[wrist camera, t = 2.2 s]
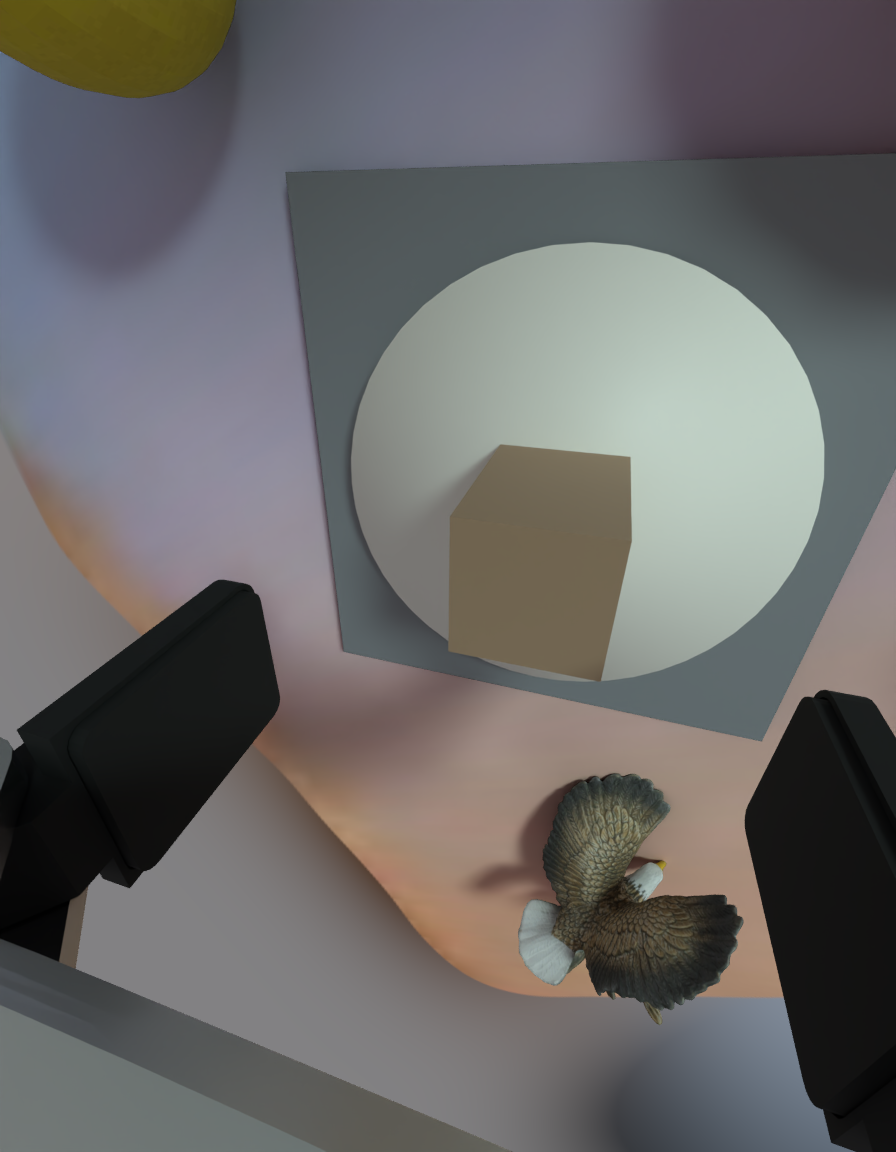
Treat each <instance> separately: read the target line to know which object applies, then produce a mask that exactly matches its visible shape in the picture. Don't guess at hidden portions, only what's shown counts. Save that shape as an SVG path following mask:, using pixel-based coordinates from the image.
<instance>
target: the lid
mask: <svg viewBox="0 0 896 1152" xmlns="http://www.w3.org/2000/svg"><path fill="white" fill-rule="evenodd" d="M351 473H352V488H353V494H354V501H355V507H356V511H357V515H358V518H359V522H360V525H361V529H362V532H363V535H364V537H365V539H366V542H367V544H368V547H369V549H370V551H371V554H372V556H373V557H374V559H375V561H376V563H377V565H378V566H379V568H380V570H381V572H382V574H383V575H384V577H385V578H386V579H387V581H388V582H389V584H390V585H391V586H392V588H393V589H394V591H395V592H396V594H397V595H398V596H399V597H400V598H401V599H402V600H403V601H404V603H405V604H406V605H407V606H408V607H409V608H410V609H411V610H412V611H413V612H414V613H415V614H416V615H417V616H418V617H419V618H420V619H421V620H422V621H423V622H425V623H426V624H427V625H428V626H429V627H430V628H432V629H433V630H434V631H436V632H437V633H438V634H440V635H441V636H442V637H444V638H445V639H446V640H448V641H449V643H448V651H449V652H454V653H459V654H464V655H469V656H474V657H478V658H480V659H482V660H484V661H487V662H489V663H491V664H494V665H497V666H500V667H502V668H505V669H508V670H511V671H515V672H518V673H522V674H526V675H530V676H534V677H540V678H547V679H553V680H562V681H580V682H588V681H598V682H601V681H609V680H616V679H623V678H630V677H636V676H640V675H644V674H648V673H652V672H656V671H660V670H663V669H665V668H668V667H671V666H674V665H676V664H679V663H682V662H685V661H687V660H689V659H691V658H693V657H695V656H697V655H699V654H701V653H703V652H705V651H707V650H709V649H711V648H712V647H714V646H715V645H717V644H719V643H720V642H722V641H723V640H725V639H726V638H728V637H729V636H731V635H732V634H734V633H735V632H736V631H738V630H739V629H740V628H741V627H742V626H744V625H745V624H746V623H747V622H748V621H750V620H751V619H752V618H753V617H754V616H756V615H757V613H758V612H759V611H760V610H761V609H762V608H763V607H764V606H765V605H766V604H767V603H768V602H769V601H770V600H771V598H772V597H773V596H774V595H775V594H776V593H777V592H778V590H779V589H780V587H781V586H782V585H783V583H784V582H785V580H786V579H787V577H788V576H789V575H790V573H791V572H792V570H793V569H794V567H795V565H796V563H797V561H798V560H799V558H800V556H801V554H802V552H803V550H804V548H805V546H806V544H807V542H808V540H809V537H810V534H811V531H812V528H813V525H814V522H815V519H816V516H817V513H818V510H819V504H820V499H821V493H822V487H823V481H824V439H823V433H822V427H821V420H820V414H819V409H818V406H817V403H816V400H815V398H814V395H813V392H812V389H811V386H810V383H809V380H808V377H807V375H806V373H805V371H804V370H803V368H802V366H801V364H800V362H799V361H798V359H797V357H796V355H795V353H794V351H793V350H792V348H791V346H790V344H789V343H788V342H787V341H786V339H785V338H784V337H783V336H782V334H781V333H780V332H779V331H778V329H777V328H776V327H775V326H774V324H773V323H772V322H771V321H770V319H769V318H768V317H767V316H766V315H765V314H764V313H763V312H762V311H761V310H760V309H759V308H757V307H756V306H755V305H754V304H753V303H752V302H751V301H749V300H748V299H747V298H746V297H745V296H744V295H743V294H742V293H740V292H739V291H738V290H737V289H735V288H734V287H732V286H730V285H729V284H727V283H726V282H724V281H722V280H721V279H719V278H718V277H716V276H714V275H713V274H711V273H709V272H708V271H706V270H705V269H702V268H700V267H698V266H695V265H693V264H690V263H688V262H685V261H683V260H681V259H678V258H676V257H673V256H671V255H669V254H665V253H661V252H656V251H652V250H648V249H644V248H639V247H635V246H631V245H621V244H608V243H595V242H586V243H573V244H560V245H550V246H546V247H541V248H537V249H533V250H528V251H524V252H520V253H515V254H513V255H510V256H508V257H505V258H502V259H500V260H497V261H495V262H492V263H490V264H487V265H485V266H482V267H480V268H478V269H476V270H475V271H473V272H471V273H469V274H468V275H466V276H464V277H462V278H461V279H459V280H457V281H455V282H454V283H452V284H450V285H449V286H448V287H446V288H445V289H444V290H443V291H441V292H440V293H439V294H437V295H436V296H435V297H434V298H432V299H431V300H430V301H428V302H427V303H426V304H425V305H423V306H422V307H421V309H420V310H419V311H418V312H417V313H416V314H415V315H414V316H413V317H412V318H411V319H410V320H409V321H408V322H407V323H406V324H405V325H404V326H403V327H402V328H401V330H400V331H399V332H398V334H397V335H396V336H395V338H394V339H393V341H392V342H391V343H390V345H389V346H388V347H387V349H386V350H385V352H384V353H383V355H382V357H381V358H380V360H379V362H378V364H377V366H376V368H375V370H374V371H373V373H372V375H371V377H370V379H369V382H368V384H367V387H366V390H365V392H364V395H363V398H362V400H361V403H360V406H359V410H358V414H357V419H356V423H355V428H354V432H353V442H352V453H351Z"/></svg>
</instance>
